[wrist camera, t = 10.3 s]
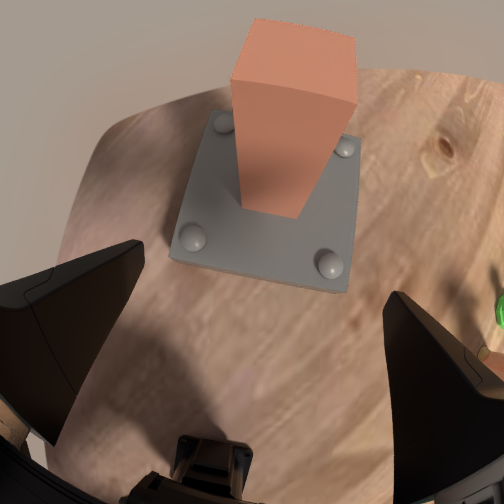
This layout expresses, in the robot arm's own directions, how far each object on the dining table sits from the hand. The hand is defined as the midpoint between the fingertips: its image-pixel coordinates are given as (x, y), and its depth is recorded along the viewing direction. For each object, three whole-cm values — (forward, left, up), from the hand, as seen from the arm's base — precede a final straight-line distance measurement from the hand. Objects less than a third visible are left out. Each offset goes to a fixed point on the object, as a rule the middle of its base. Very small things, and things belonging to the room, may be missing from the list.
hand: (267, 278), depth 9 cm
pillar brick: (+7, 0, -10) cm, 13 cm away
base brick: (+7, 0, -13) cm, 15 cm away
